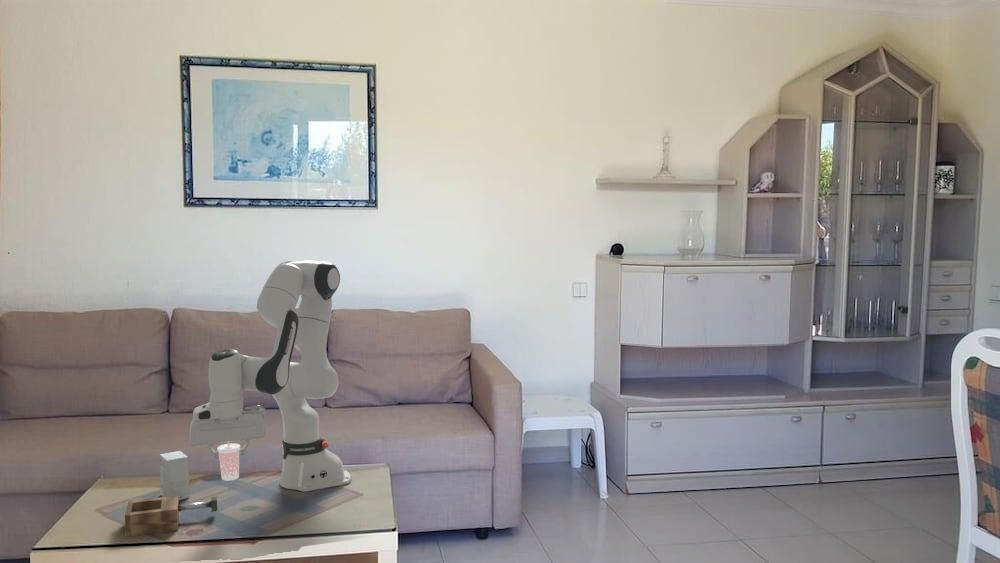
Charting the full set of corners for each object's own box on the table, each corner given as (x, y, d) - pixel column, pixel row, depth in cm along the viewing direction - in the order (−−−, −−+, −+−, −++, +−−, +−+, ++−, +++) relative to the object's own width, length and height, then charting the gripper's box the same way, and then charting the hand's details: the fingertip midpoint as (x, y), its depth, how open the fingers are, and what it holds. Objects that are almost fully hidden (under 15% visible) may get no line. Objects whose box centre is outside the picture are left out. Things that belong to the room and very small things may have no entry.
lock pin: (216, 507, 227) (216, 496, 227) (217, 511, 224) (216, 500, 224) (169, 512, 223) (168, 501, 222) (168, 516, 220) (168, 505, 219)
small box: (190, 498, 239) (188, 456, 238) (168, 503, 235) (167, 460, 234) (181, 490, 245) (180, 450, 244) (160, 495, 241) (158, 454, 240)
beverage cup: (243, 479, 219) (240, 430, 218) (220, 483, 217) (217, 433, 215) (240, 472, 225) (238, 425, 223) (217, 476, 222) (215, 428, 221)
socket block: (179, 515, 225) (178, 495, 225) (177, 530, 215) (177, 509, 215) (129, 521, 221) (128, 501, 220) (125, 537, 211) (124, 515, 210)
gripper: (264, 401, 225) (266, 448, 227) (188, 409, 218) (190, 457, 220) (266, 407, 219) (268, 455, 221) (187, 415, 212) (190, 464, 214)
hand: (229, 456), depth 220 cm, fingers closed on beverage cup, 6 cm apart
